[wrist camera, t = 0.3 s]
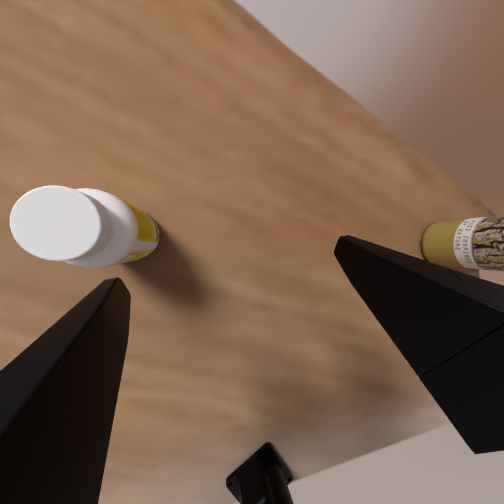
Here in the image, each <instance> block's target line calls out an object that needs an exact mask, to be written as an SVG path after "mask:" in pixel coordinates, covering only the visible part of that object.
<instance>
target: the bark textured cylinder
mask: <svg viewBox="0 0 504 504" xmlns="http://www.w3.org/2000/svg"><path fill="white" fill-rule="evenodd" d="M421 246H422V252H423V254H424V256H425V258H426V259H427V260H428V261H429V262H431V263H434V264H437V265H440V266H451V267H463V268H472V269H484V270H497V271H504V215H502V216H491V217H481V218H472V219H464V220H454V221H444V222H437V223H434V224H432V225H431V226H429V227H428V228H427V229H426V231H425V232H424V235H423V237H422V243H421Z"/></svg>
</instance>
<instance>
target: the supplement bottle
mask: <svg viewBox="0 0 504 504" xmlns="http://www.w3.org/2000/svg"><path fill="white" fill-rule="evenodd" d="M10 228H11V231H12V234H13V236H14V238H15V240H16V241H17V242H18V244H19V245H20V246H21V247H22V248H23V249H25V250H26V251H27V252H29V253H30V254H32V255H34V256H36V257H39V258H42V259H45V260H50V261H64V262H66V263H69V264H71V265H74V266H78V267H83V268H100V267H107V266H111V265H116V264H121V263H126V262H131V261H136V260H139V259H142V258H144V257H146V256H148V255H149V254H151V253H152V252H153V251H154V250H155V248H156V247H157V244H158V242H159V229H158V226H157V224H156V222H155V221H154V219H153V218H152V217H151V216H150V215H149V214H147V213H146V212H144V211H143V210H141V209H139V208H137V207H135V206H133V205H131V204H129V203H128V202H126V201H124V200H122V199H120V198H118V197H116V196H114V195H112V194H109V193H107V192H104V191H101V190H97V189H88V188H82V189H75V190H74V189H72V188H68V187H64V186H43V187H39V188H35V189H33V190H31V191H29V192H27V193H26V194H24V195H23V196H22V197H21V198H20V199H19V200H18V201H17V202H16V203H15V205H14V207H13V209H12V211H11V215H10Z"/></svg>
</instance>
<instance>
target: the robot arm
mask: <svg viewBox="0 0 504 504" xmlns="http://www.w3.org/2000/svg"><path fill="white" fill-rule="evenodd" d="M334 255H335V257H336V259H337V260H338V262H339V264H340V266H341V267H342V269H343V271H344V272H345V274H346V276H347V278H348V279H349V281H350V282H351V284H352V285H353V287H354V288H355V290H356V291H357V292H358V294H359V295H360V296H361V298H362V299H363V301H364V302H365V303H366V305H367V306H368V308H369V309H370V310H371V312H372V313H373V314H374V316H375V317H376V319H377V320H378V321H379V323H380V324H381V326H382V327H383V328H384V330H385V331H386V332H387V334H388V335H389V337H390V338H391V339H392V341H393V342H394V344H395V345H396V346H397V348H398V349H399V350H400V352H401V353H402V355H403V356H404V357H405V359H406V360H407V362H408V363H409V364H410V366H411V367H412V368H413V370H414V371H415V373H416V374H417V375H418V377H419V378H420V380H421V381H422V383H423V384H424V385H425V387H426V388H427V390H428V391H429V392H430V394H431V395H432V397H433V398H434V399H435V401H436V402H437V403H438V405H439V406H440V408H441V409H442V410H443V412H444V413H445V415H446V416H447V417H448V419H449V420H450V421H451V423H452V424H453V425H454V427H455V428H456V430H457V431H458V432H459V434H460V435H461V437H462V438H463V439H464V441H465V442H466V444H467V445H468V446H469V448H470V449H471V450H472V451H473V452H474V453H475V454H481V453H488V452H496V451H503V450H504V286H503V285H500V284H496V283H493V282H490V281H486V280H483V279H480V278H477V277H474V276H471V275H467V274H464V273H461V272H458V271H455V270H452V269H449V268H446V267H443V266H440V265H437V264H434V263H431V262H428V261H425V260H422V259H419V258H416V257H413V256H410V255H407V254H404V253H401V252H398V251H395V250H392V249H389V248H386V247H383V246H380V245H377V244H374V243H371V242H368V241H365V240H362V239H359V238H356V237H353V236H350V235H346V236H341V237H340V238H339V239H338V241H337V244H336V247H335V249H334ZM130 302H131V296H130V292H129V291H128V289H127V287H126V286H125V284H124V283H123V281H122V280H121V279H120V278H118V277H116V278H111V279H106V280H104V281H103V282H102V283H100V284H99V285H98V286H97V287H96V288H95V289H94V290H92V291H91V292H90V293H89V294H88V295H87V296H86V297H84V298H83V299H82V300H81V301H80V302H79V303H78V304H76V305H75V306H74V307H73V308H72V309H71V310H70V311H68V312H67V313H66V314H65V315H64V316H63V317H62V318H60V319H59V320H58V321H57V322H56V323H55V324H54V325H53V326H51V327H50V328H49V329H48V330H47V331H46V332H45V333H43V334H42V335H41V336H40V337H39V338H38V339H37V340H35V341H34V342H33V343H32V344H31V345H30V346H29V347H27V348H26V349H25V350H24V351H23V352H22V353H21V354H19V355H18V356H17V357H16V358H15V359H14V360H13V361H11V362H10V363H9V364H8V365H7V366H6V367H5V368H3V369H2V370H1V371H0V504H98V501H99V495H100V490H101V484H102V479H103V474H104V468H105V463H106V457H107V452H108V446H109V441H110V436H111V430H112V425H113V419H114V414H115V408H116V403H117V398H118V392H119V387H120V381H121V376H122V371H123V365H124V360H125V354H126V349H127V343H128V335H129V320H130ZM292 479H293V477H292V474H291V472H290V471H289V469H288V468H287V466H286V465H285V464H284V462H283V461H282V459H281V458H280V456H279V455H278V454H277V452H276V451H275V449H274V448H273V447H272V445H271V444H270V443H266V444H264V445H263V446H262V447H261V448H260V449H259V450H258V451H257V452H255V453H254V454H253V455H252V456H251V457H250V458H249V459H248V460H246V461H245V462H244V463H243V464H242V465H241V466H240V467H239V468H237V469H236V470H235V471H234V472H233V473H232V474H231V475H230V476H228V477H227V479H226V486H227V488H228V489H229V490H230V492H231V493H232V494H233V495H234V496H235V498H236V499H237V500H238V501H239V503H240V504H293V501H292V498H291V495H290V492H289V489H288V486H287V485H288V484H289V483H290V482H291V481H292Z"/></svg>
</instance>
